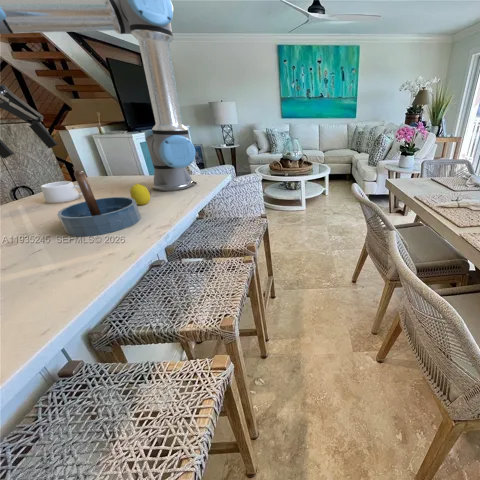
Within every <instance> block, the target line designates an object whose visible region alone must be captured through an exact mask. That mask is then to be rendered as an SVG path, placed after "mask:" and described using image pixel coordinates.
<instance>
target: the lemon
mask: <svg viewBox="0 0 480 480" xmlns="http://www.w3.org/2000/svg"><path fill="white" fill-rule="evenodd" d="M129 194H130V198H132V199H135V201H136V204H137V205H140V206H144V205H147V204H149V202H150V201H151V193H150V191H149V190H148V188H147V187H146V186H145V185H143V184H139V183H135V184H134V185H133V186H132V187H131V188H130V193H129Z"/></svg>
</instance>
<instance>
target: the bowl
mask: <svg viewBox="0 0 480 480" xmlns="http://www.w3.org/2000/svg"><path fill="white" fill-rule="evenodd" d="M95 200H96V202H97V205H98V207H99V210H100V212H101V214H100V215H95V216H92V215H91V213H90V211H89V208H88V206H87V204H86V201H85V200H84V201H81V202H77V203H73V204H71V205H69V206H66V207H64V208H62V209H60V210H59V211H58V212H57V214H56V215H57V217H58V219H59V222H60V223H61V225H62V228H63V229H64V232H65V233H66V234H67V235H69V236H73V237H94V236H101V235H106V234H110V233H115V232H118V231H121V230H124V229H126V228H129V227H132V226H133V225H135V224H137V223H138V222H140V220H141V218H142V217H141V213H140V210H139V207H138V204H137V203H136V201H135V199H132V198H131V197H127V196H111V197H109V196H108V197H102V198H101V197H100V198H95Z"/></svg>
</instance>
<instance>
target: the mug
mask: <svg viewBox="0 0 480 480" xmlns="http://www.w3.org/2000/svg"><path fill="white" fill-rule="evenodd" d="M40 189H41V192H42V194H43V198H44V201H45V202H46V203H48V204H62V203H68V202H72V201H75V200H78V199H79V198H80V197H81V196H83V194H82V192H81V191H80V193H79V192H78V190H77V189H80V187H79V185H78V184H77V185H76V184H75V185H74V183H73V182H72V181H70V180H61V181H54V182H49V183H44V184H42V185H40Z"/></svg>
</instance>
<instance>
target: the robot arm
mask: <svg viewBox="0 0 480 480" xmlns="http://www.w3.org/2000/svg"><path fill="white" fill-rule="evenodd" d="M173 17H174V6H173V3H172V0H0V35H9V34H32V33H33V34H35V33H70V32H101V31H104V32H105V31H114V32H115V33H117V34H118V35H132V36H133V37H134V38H135V39H136V40H137V42H138V47H139V50H140V56H141V59H142V65H143V70H144V74H145V79H146V84H147V88H148V93H149V99H150V103H151V109H152V113H153V117H154V122H155V124H154V125H153V127H152V128H151V129H147V130H145V131H144V140H145V142H146V145H147V149H148V152H149V156H150V160H151V163H152V166H153V170H154V173H153V188H154V190H156V191H158V192H159V191H160V192H174V191H180V190H185V189H189V188H191V187H193V186H194V185H197V183H198V182H197V181H194V180H193V178H192V176H191V175H190V173H189V171H188V170H187V167H189V166H191V164H193V162H194V161H195V158H196V148H195V146H194V144H193V142H192V141H191V139H190V133H189V129H188V128H187V126H185V125H184V124H183V123H184V122H183V118H182V113H181V106H180V99H179V95H178V89H177V82H176V77H175V71H174V66H173V60H172V59H173V58H172V53H171V47H170V44H171V43H172V41H173V40H174V35H173V29H172V23H171V22H172V21H173ZM0 109H3V111H6V112H8V113H10V114H11V115H13V116H15V117H17V118H19V119H20V120H22V121H24V122H26V123H28V124H29V126H28V127H29V128H30V129H31V130H32V132H34V134H35V135H36V136H37V137H38V138H39V140H40V141H42V142H43V144H44V145H45V146H46V147H47V148H48V149H52V148H54V147H56V146H58V145H59V144H58V142H57V141H56V140H55V139H54V137H53V136H52V135H51V134H50V132H49V130H48V129H47V128H46V127H45V126H44V124H42V122H43V120H45V116H43V115H42V114H41V113H40V112H39V111H37V110H35V108H33V107H31V106H30V105H29V104H28V103H26V101H24V100H23V99H22V98H20V97H18V96H17V95H16V94H14V93H13V92H12V91H11V89H9V87H8V86H7V85H5V84H3V83H1V84H0ZM13 155H15V153H14V151H12V150H11V149H10V147H8V145H7V144H5V142H4V141H2V139H1V138H0V157H1V158H2V159H7V158H9V157H11V156H13Z"/></svg>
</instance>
